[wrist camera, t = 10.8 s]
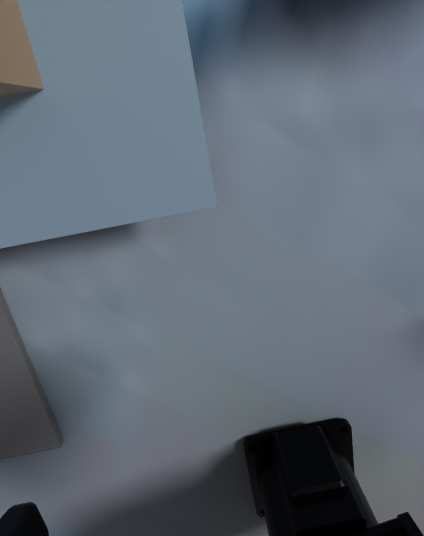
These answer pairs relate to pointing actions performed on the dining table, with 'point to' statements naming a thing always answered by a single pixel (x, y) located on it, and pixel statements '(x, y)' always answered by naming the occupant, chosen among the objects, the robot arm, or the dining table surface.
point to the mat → (21, 397)
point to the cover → (97, 117)
